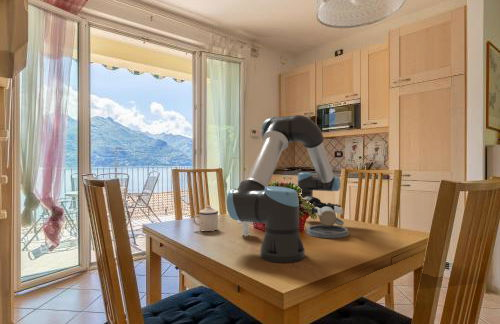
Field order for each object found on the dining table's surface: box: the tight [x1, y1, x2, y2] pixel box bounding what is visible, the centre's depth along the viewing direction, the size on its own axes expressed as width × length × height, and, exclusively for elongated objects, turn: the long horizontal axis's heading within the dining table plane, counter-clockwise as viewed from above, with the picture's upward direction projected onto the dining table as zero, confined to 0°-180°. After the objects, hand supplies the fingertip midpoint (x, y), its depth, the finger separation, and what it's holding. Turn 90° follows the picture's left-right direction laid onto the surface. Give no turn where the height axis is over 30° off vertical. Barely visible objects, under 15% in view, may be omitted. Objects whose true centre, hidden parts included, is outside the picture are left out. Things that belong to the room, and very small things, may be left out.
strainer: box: [236, 220, 254, 237], centre depth 131 cm, size 7×7×15 cm
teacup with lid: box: [192, 205, 219, 231], centre depth 142 cm, size 12×9×12 cm
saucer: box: [306, 224, 350, 240], centre depth 133 cm, size 18×18×2 cm
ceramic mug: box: [317, 206, 345, 227], centre depth 131 cm, size 11×8×8 cm
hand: (331, 211), depth 128 cm, fingers closed on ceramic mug, 9 cm apart
